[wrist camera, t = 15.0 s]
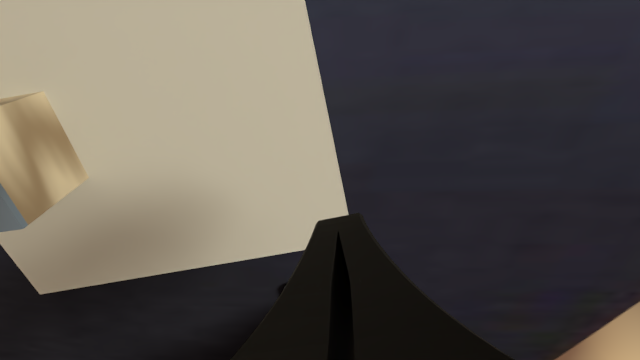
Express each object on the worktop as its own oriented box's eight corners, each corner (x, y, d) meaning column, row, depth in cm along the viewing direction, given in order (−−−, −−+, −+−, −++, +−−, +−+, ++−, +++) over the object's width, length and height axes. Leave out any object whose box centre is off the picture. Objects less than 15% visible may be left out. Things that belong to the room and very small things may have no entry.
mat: (352, 236, 23) (353, 241, 22) (46, 288, 25) (40, 294, 24) (282, -109, 14) (281, -113, 14) (-167, 11, 17) (-183, 12, 16)
